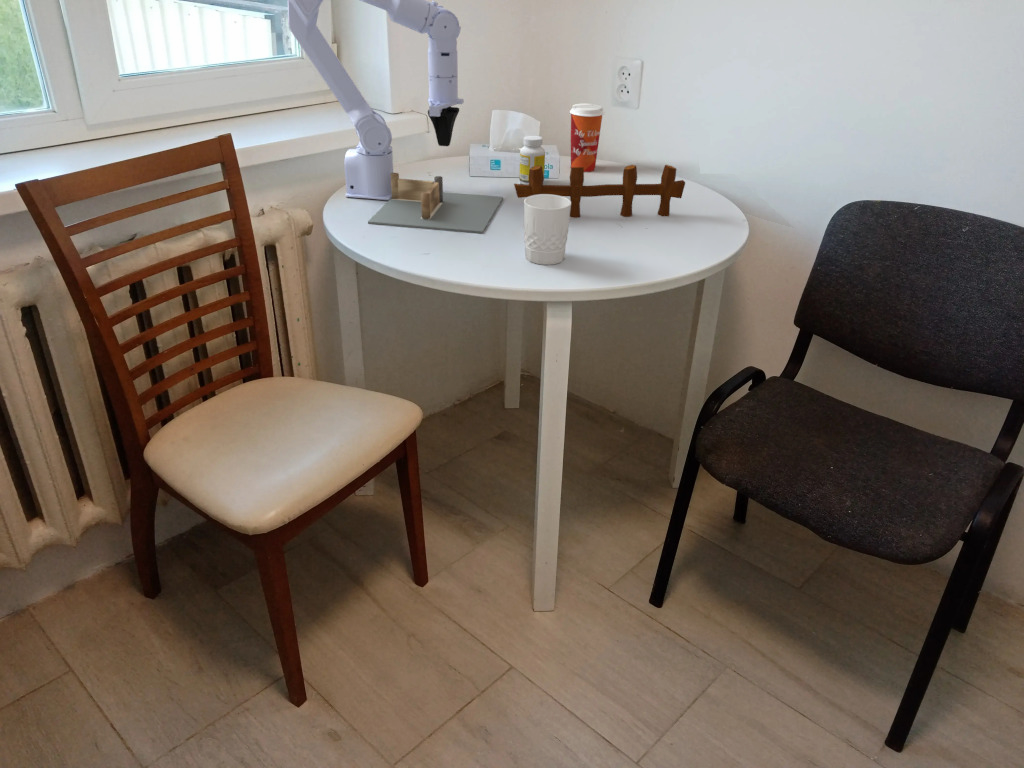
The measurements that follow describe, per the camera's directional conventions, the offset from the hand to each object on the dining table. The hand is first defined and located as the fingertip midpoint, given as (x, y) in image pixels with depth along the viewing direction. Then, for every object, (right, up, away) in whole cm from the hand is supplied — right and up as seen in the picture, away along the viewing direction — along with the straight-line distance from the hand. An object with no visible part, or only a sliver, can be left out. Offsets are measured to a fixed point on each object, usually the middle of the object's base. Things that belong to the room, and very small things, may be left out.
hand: (444, 145), depth 163 cm
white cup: (+20, -27, -26) cm, 43 cm away
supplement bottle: (+18, -5, +11) cm, 22 cm away
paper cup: (+30, +1, +22) cm, 37 cm away
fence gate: (-2, -15, -8) cm, 17 cm away
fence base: (-5, -12, -3) cm, 13 cm away
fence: (+31, -16, -6) cm, 35 cm away
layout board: (-1, -15, -6) cm, 16 cm away
